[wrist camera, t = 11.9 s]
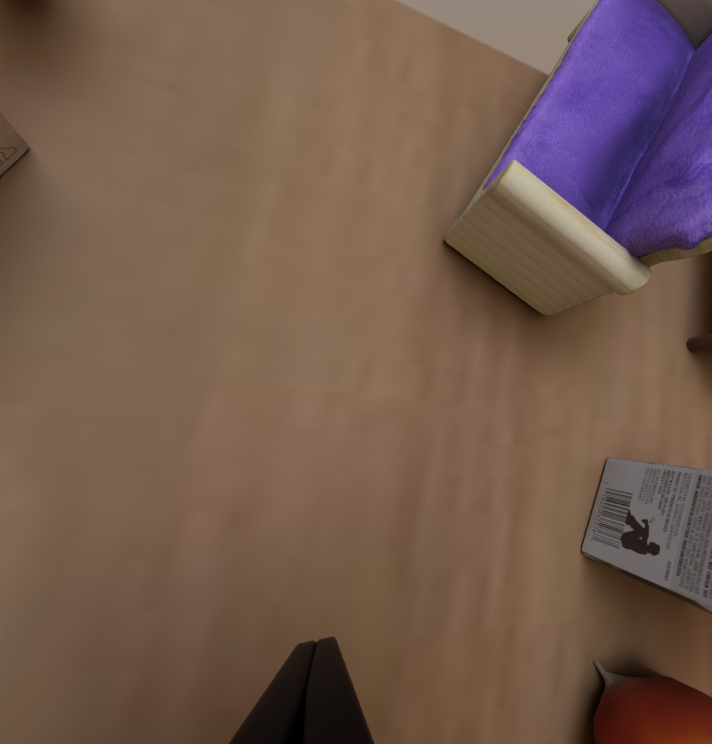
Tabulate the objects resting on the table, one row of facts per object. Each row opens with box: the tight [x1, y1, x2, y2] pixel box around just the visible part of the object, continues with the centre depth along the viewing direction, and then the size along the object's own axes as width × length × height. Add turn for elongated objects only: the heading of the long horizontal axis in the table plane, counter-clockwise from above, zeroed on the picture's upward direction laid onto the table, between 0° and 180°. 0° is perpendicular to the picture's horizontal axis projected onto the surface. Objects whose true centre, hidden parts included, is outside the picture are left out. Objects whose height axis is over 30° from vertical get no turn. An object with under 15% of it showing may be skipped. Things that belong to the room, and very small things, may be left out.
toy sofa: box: [444, 0, 712, 316], centre depth 20 cm, size 21×9×10 cm, turn 148°
